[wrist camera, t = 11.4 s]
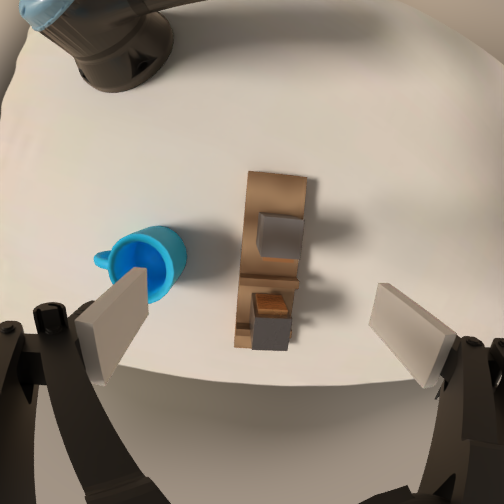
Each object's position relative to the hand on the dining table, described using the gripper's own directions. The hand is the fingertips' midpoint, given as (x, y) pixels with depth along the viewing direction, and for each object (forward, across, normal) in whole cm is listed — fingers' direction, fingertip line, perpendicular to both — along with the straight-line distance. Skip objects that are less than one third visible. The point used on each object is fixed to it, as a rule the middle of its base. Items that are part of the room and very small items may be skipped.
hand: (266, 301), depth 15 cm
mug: (+24, -14, -4) cm, 28 cm away
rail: (+23, +3, -4) cm, 24 cm away
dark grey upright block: (+21, +3, -10) cm, 23 cm away
